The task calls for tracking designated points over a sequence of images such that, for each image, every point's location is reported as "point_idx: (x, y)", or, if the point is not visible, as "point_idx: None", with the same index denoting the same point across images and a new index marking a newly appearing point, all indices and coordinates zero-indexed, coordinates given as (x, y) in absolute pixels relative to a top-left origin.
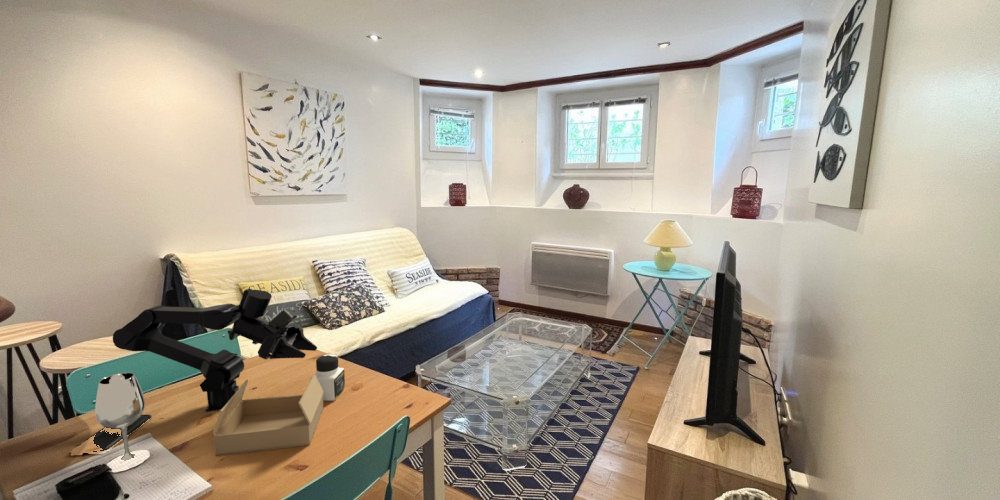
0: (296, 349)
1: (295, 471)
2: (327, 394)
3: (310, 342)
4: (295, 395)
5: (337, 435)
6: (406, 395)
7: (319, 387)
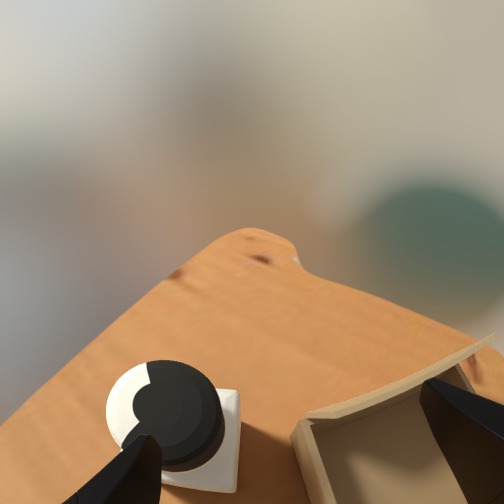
0: (491, 401)
1: (479, 360)
2: (239, 437)
3: (110, 479)
4: (330, 502)
5: (390, 348)
6: (218, 268)
7: (330, 407)
